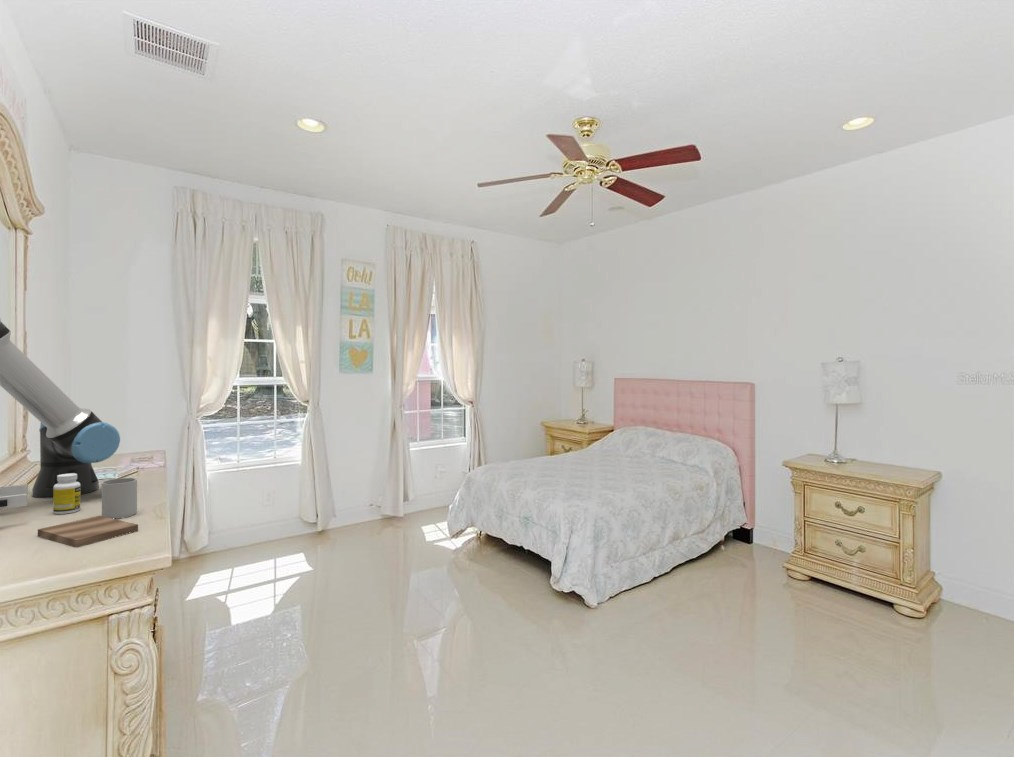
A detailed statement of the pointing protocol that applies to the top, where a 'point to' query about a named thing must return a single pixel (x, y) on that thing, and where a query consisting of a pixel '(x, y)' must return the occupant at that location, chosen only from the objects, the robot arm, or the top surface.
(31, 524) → the top surface
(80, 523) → the walnut board
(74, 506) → the supplement bottle
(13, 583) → the top surface
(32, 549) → the top surface
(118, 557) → the top surface
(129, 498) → the cup
